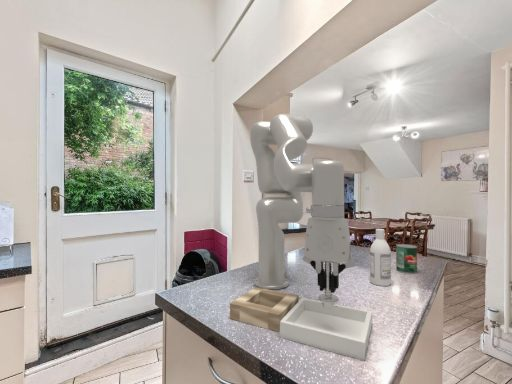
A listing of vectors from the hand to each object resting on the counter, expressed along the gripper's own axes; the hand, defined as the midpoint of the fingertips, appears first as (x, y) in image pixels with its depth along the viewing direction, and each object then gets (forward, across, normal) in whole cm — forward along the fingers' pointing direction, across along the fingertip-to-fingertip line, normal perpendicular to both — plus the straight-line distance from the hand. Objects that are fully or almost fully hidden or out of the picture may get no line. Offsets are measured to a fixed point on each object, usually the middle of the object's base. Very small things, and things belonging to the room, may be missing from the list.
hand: (328, 289), depth 62 cm
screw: (+4, 0, 0) cm, 4 cm away
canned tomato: (+10, +18, +67) cm, 70 cm away
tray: (+10, 0, 0) cm, 10 cm away
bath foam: (+10, +9, +44) cm, 46 cm away
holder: (+10, -17, +1) cm, 20 cm away
